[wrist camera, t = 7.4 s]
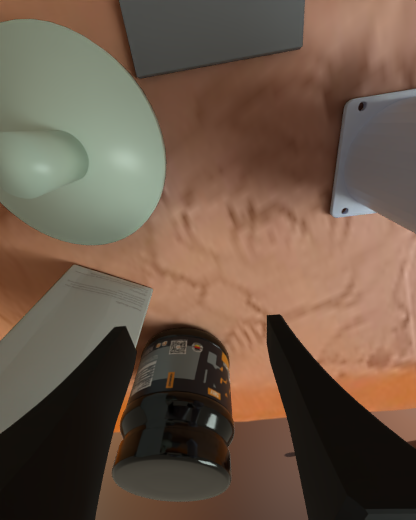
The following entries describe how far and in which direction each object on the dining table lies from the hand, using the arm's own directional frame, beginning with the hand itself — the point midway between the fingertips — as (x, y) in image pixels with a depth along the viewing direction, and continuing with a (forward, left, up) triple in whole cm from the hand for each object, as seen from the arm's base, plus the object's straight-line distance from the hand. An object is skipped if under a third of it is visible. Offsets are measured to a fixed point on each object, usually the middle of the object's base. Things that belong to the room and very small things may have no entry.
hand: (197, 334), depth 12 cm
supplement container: (+4, +15, -11) cm, 19 cm away
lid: (+6, -9, -6) cm, 13 cm away
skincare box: (+10, +5, -11) cm, 16 cm away
